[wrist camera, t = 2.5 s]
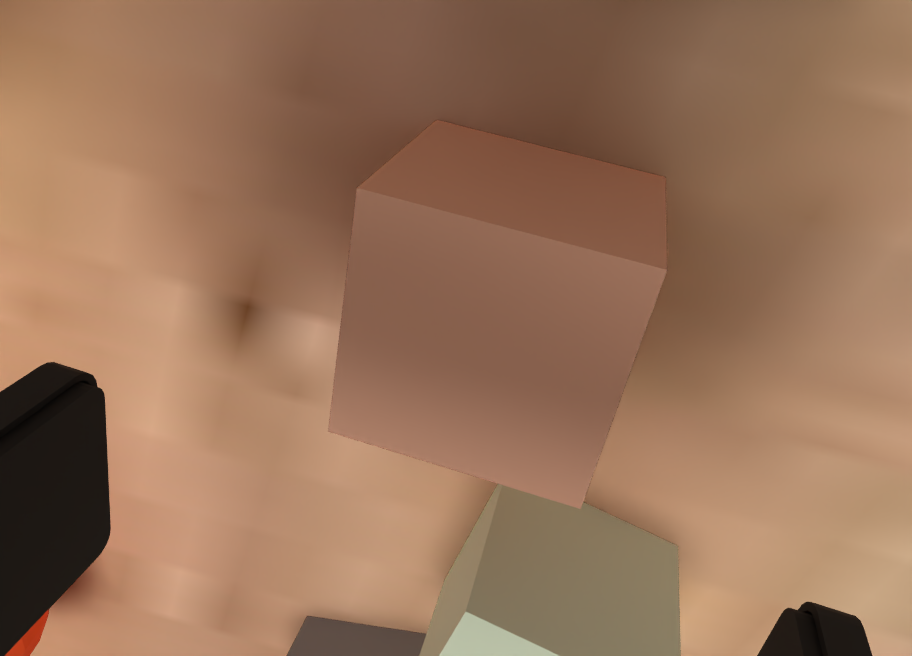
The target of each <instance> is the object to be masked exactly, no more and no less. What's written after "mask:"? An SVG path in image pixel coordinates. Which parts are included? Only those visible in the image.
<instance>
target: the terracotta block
mask: <svg viewBox="0 0 912 656" xmlns="http://www.w3.org/2000/svg"><path fill="white" fill-rule="evenodd" d="M666 272H667V224H666V177H663V176H659V175H655V174H651V173H647V172H643V171H639V170H635V169H631V168H627V167H623V166H619V165H615V164H611V163H607V162H603V161H599V160H595V159H591V158H587V157H583V156H579V155H575V154H571V153H567V152H563V151H559V150H555V149H551V148H547V147H543V146H539V145H535V144H531V143H527V142H524V141H520V140H516V139H512V138H508V137H504V136H500V135H496V134H492V133H488V132H484V131H480V130H476V129H472V128H468V127H464V126H460V125H456V124H452V123H448V122H444V121H440V120H436V121H434V122H433V123H432V124H431V125H430V126H429V127H427V128H426V129H425V130H424V131H423V132H422V133H420V134H419V135H418V136H417V137H416V138H415V139H413V140H412V141H411V142H410V143H409V144H408V145H406V146H405V147H404V148H403V149H402V150H401V151H399V152H398V153H397V154H396V155H395V156H394V157H392V158H391V159H390V160H389V161H388V162H387V163H385V164H384V165H383V166H382V167H381V168H379V169H378V170H377V171H376V172H375V173H374V174H372V175H371V176H370V177H369V178H368V179H367V180H365V181H364V182H363V183H362V184H361V185H360V186H358V187H357V191H356V199H355V208H354V216H353V225H352V233H351V242H350V250H349V258H348V267H347V275H346V284H345V292H344V301H343V309H342V318H341V326H340V335H339V343H338V352H337V360H336V369H335V377H334V385H333V394H332V402H331V411H330V419H329V428H328V432H331V433H335V434H338V435H341V436H344V437H348V438H351V439H354V440H357V441H361V442H364V443H367V444H370V445H374V446H377V447H380V448H383V449H387V450H390V451H393V452H396V453H400V454H403V455H406V456H409V457H413V458H416V459H419V460H422V461H426V462H429V463H432V464H436V465H439V466H442V467H445V468H449V469H452V470H455V471H458V472H462V473H465V474H468V475H471V476H475V477H478V478H481V479H484V480H488V481H491V482H494V483H497V484H501V485H504V486H507V487H510V488H514V489H517V490H520V491H523V492H527V493H530V494H533V495H536V496H540V497H543V498H546V499H549V500H553V501H556V502H559V503H562V504H566V505H569V506H572V507H576V508H579V509H581V507H582V504H583V501H584V499H585V496H586V493H587V490H588V488H589V485H590V482H591V479H592V477H593V474H594V471H595V468H596V466H597V463H598V460H599V457H600V454H601V452H602V449H603V446H604V443H605V441H606V438H607V435H608V432H609V430H610V427H611V424H612V421H613V419H614V416H615V413H616V410H617V408H618V405H619V402H620V399H621V397H622V394H623V391H624V388H625V386H626V383H627V380H628V377H629V375H630V372H631V369H632V366H633V363H634V361H635V358H636V355H637V352H638V350H639V347H640V344H641V341H642V339H643V336H644V333H645V330H646V328H647V325H648V322H649V319H650V317H651V314H652V311H653V308H654V306H655V303H656V300H657V297H658V295H659V292H660V289H661V286H662V283H663V281H664V278H665V275H666Z"/></svg>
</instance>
